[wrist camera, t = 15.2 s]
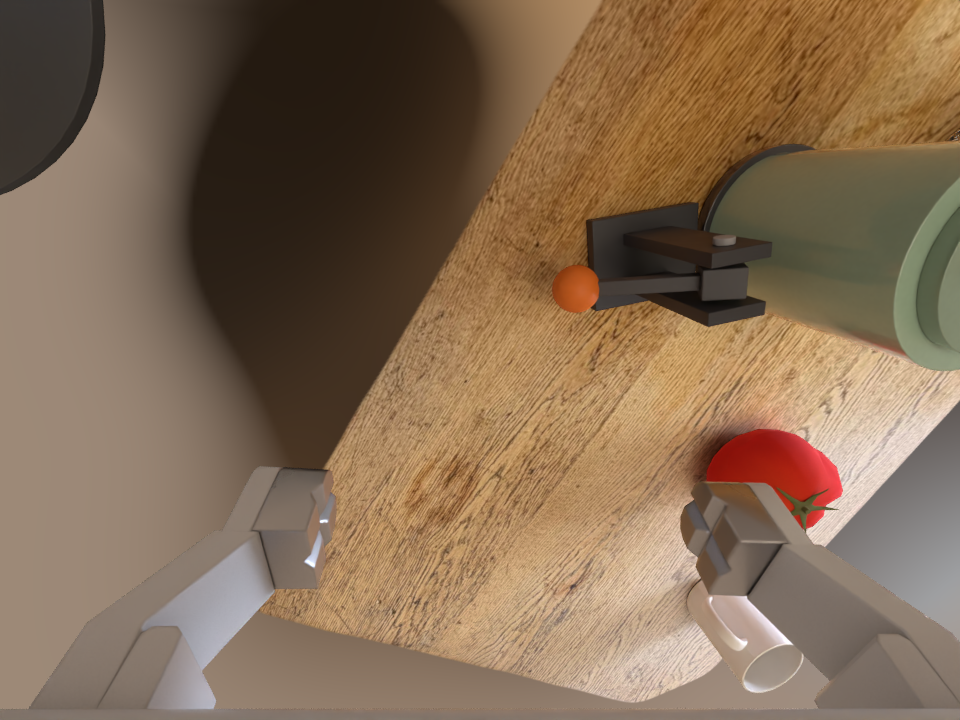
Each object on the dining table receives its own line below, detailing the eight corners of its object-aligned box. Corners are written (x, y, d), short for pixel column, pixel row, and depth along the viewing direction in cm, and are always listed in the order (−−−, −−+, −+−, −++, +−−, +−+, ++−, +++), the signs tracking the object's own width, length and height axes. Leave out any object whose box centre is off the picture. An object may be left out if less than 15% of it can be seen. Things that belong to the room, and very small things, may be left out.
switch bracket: (590, 308, 43) (669, 356, 32) (586, 220, 40) (672, 237, 28) (687, 288, 45) (797, 327, 33) (690, 202, 42) (813, 211, 30)
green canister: (689, 322, 46) (913, 424, 27) (696, 157, 40) (989, 138, 21) (821, 294, 48) (1115, 370, 29) (846, 133, 42) (1235, 96, 23)
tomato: (782, 476, 57) (861, 534, 48) (688, 507, 55) (752, 574, 46) (788, 398, 52) (877, 445, 43) (686, 429, 51) (756, 485, 42)
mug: (748, 583, 63) (815, 655, 53) (708, 622, 64) (766, 700, 55) (697, 549, 58) (760, 622, 49) (654, 592, 60) (707, 671, 50)
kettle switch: (557, 305, 38) (551, 319, 35) (553, 261, 37) (547, 273, 34) (736, 296, 34) (747, 311, 31) (740, 247, 33) (752, 258, 30)
